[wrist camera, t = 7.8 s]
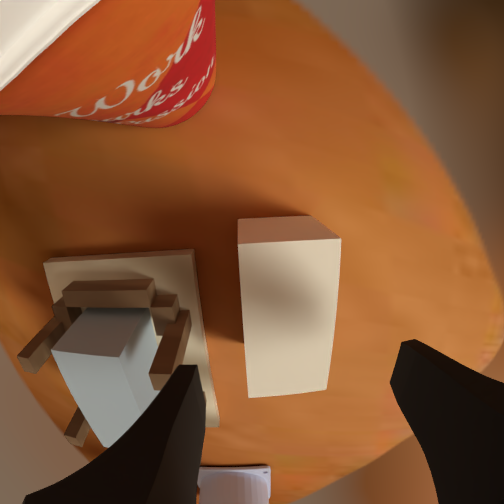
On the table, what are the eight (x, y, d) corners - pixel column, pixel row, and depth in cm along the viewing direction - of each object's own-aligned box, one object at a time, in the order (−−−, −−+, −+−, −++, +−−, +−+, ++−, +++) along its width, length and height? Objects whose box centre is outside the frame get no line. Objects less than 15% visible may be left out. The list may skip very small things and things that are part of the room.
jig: (219, 417, 20) (217, 485, 14) (107, 410, 20) (84, 466, 13) (194, 248, 16) (168, 304, 9) (50, 257, 15) (-11, 299, 9)
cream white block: (306, 337, 18) (326, 389, 13) (245, 342, 18) (248, 397, 13) (310, 215, 16) (341, 238, 11) (237, 218, 15) (237, 244, 11)
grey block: (173, 401, 18) (161, 455, 13) (123, 397, 18) (103, 446, 13) (148, 304, 15) (119, 357, 11) (90, 304, 15) (50, 349, 11)
